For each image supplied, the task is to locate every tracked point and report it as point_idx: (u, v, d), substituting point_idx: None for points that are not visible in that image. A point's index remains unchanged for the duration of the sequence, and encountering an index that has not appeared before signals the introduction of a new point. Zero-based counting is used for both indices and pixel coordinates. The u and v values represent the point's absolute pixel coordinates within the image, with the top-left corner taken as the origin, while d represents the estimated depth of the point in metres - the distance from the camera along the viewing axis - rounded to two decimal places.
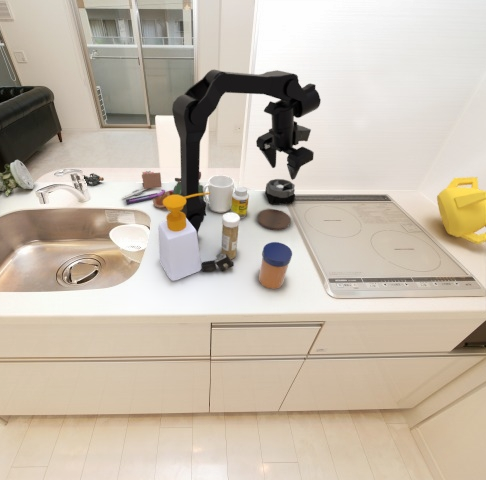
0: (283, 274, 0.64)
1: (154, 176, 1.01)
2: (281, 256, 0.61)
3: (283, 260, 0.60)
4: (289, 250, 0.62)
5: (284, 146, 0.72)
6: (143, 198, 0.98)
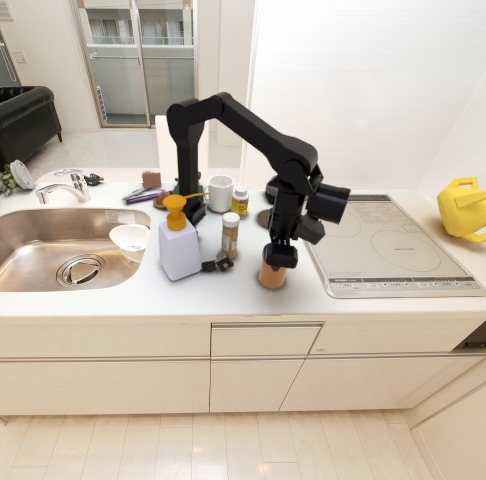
0: (283, 274, 0.64)
1: (154, 176, 1.01)
2: None
3: None
4: None
5: (276, 232, 0.56)
6: (143, 198, 0.98)
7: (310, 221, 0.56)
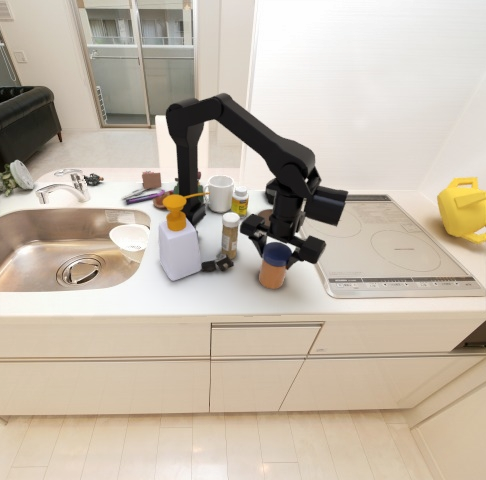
0: (283, 274, 0.64)
1: (154, 176, 1.01)
2: (285, 251, 0.62)
3: (291, 253, 0.62)
4: (279, 243, 0.64)
5: (290, 236, 0.56)
6: (143, 198, 0.98)
7: None
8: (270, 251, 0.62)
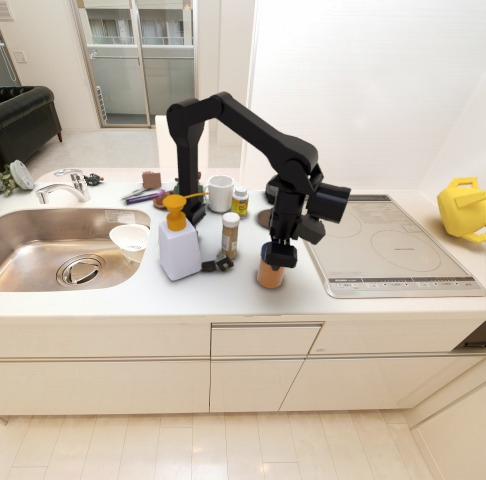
0: (281, 273, 0.64)
1: (154, 176, 1.01)
2: None
3: None
4: (265, 244, 0.64)
5: (276, 232, 0.56)
6: (143, 198, 0.98)
7: (310, 221, 0.56)
8: None
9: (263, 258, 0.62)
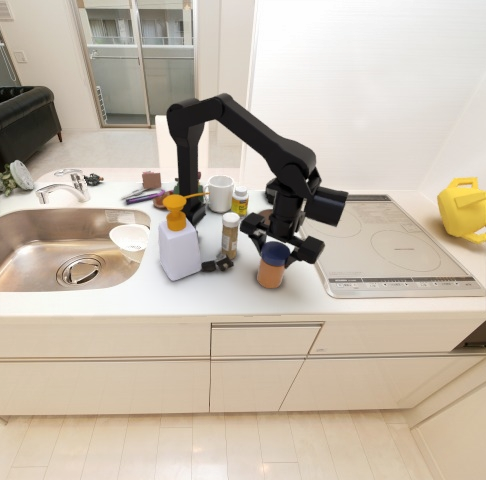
0: (282, 273, 0.64)
1: (154, 176, 1.01)
2: (270, 245, 0.63)
3: (267, 242, 0.64)
4: (265, 253, 0.61)
5: (289, 236, 0.56)
6: (143, 198, 0.98)
7: None
8: (282, 253, 0.61)
9: (278, 263, 0.60)
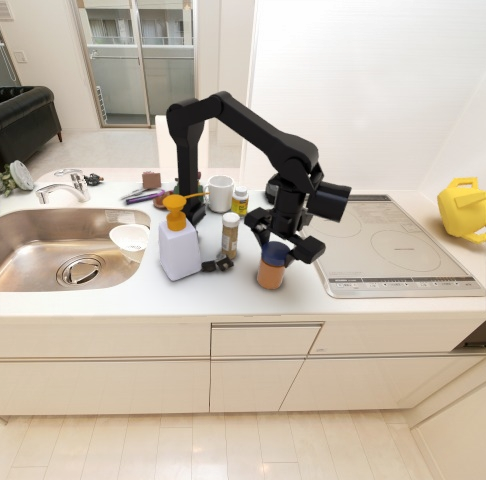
0: (282, 274, 0.63)
1: (154, 176, 1.01)
2: (282, 254, 0.60)
3: None
4: (286, 246, 0.63)
5: (288, 233, 0.55)
6: (143, 198, 0.98)
7: None
8: (269, 247, 0.62)
9: None
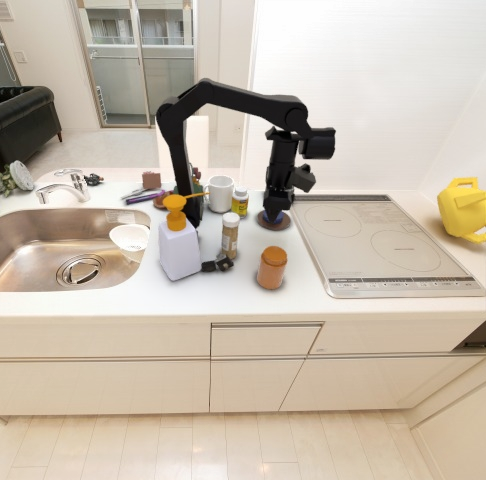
0: (282, 274, 0.63)
1: (154, 176, 1.01)
2: None
3: None
4: (282, 215, 0.86)
5: (272, 181, 0.62)
6: (143, 198, 0.98)
7: (303, 171, 0.63)
8: None
9: None
